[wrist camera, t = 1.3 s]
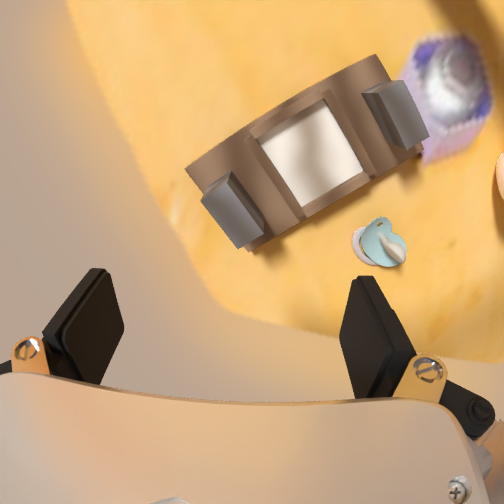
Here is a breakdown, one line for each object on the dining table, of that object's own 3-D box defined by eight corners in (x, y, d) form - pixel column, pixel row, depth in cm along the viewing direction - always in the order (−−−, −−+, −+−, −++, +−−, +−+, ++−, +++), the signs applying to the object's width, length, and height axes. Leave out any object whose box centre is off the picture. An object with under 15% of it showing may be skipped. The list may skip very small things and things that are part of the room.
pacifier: (371, 271, 39) (405, 244, 36) (385, 300, 33) (424, 270, 31) (340, 235, 36) (377, 205, 34) (352, 262, 31) (396, 227, 29)
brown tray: (370, 55, 26) (395, 47, 20) (418, 147, 30) (447, 159, 24) (187, 166, 32) (172, 181, 27) (248, 246, 37) (246, 275, 31)
